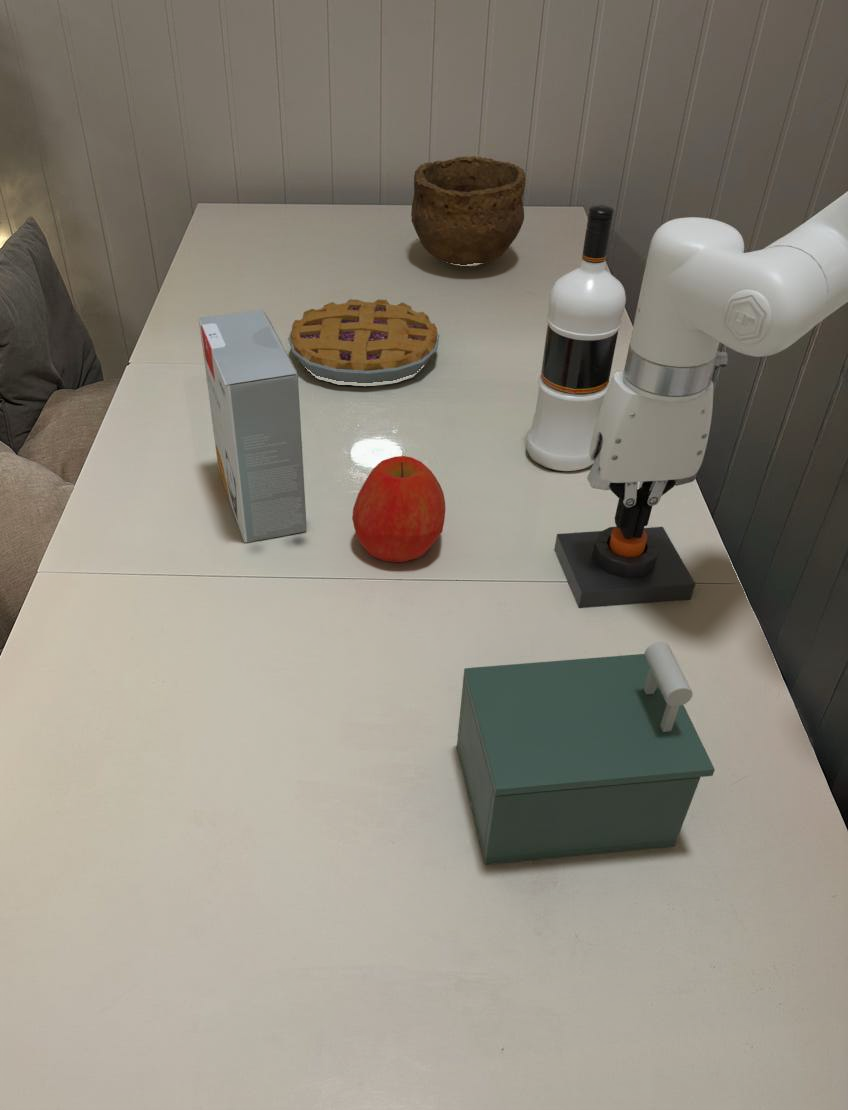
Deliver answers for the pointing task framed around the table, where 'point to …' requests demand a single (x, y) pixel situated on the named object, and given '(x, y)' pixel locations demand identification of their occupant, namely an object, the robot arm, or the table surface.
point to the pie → (363, 341)
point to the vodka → (577, 353)
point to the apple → (399, 510)
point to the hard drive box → (255, 423)
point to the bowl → (468, 208)
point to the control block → (622, 570)
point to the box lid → (586, 722)
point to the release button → (627, 544)
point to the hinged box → (567, 810)
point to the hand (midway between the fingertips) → (628, 530)
